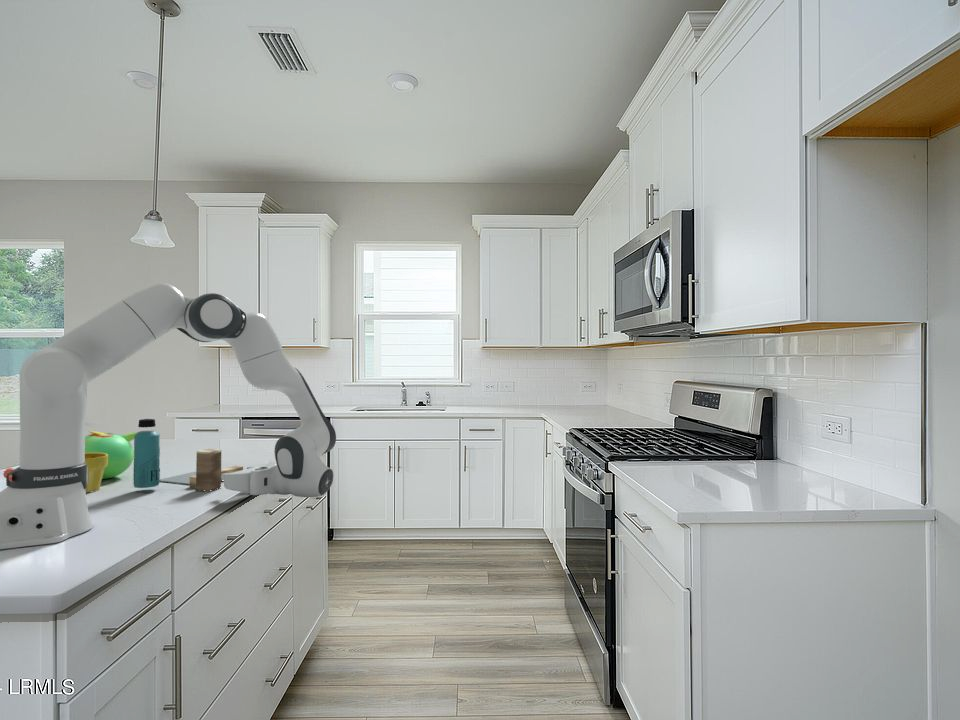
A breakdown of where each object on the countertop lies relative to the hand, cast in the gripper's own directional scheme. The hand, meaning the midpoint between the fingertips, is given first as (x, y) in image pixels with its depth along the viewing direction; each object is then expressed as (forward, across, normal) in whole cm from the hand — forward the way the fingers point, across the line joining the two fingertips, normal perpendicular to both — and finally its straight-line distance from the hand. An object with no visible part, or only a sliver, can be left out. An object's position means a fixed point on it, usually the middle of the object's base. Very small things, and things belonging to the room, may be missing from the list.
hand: (236, 472), depth 157 cm
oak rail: (+15, -9, +5) cm, 18 cm away
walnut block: (+10, 0, +5) cm, 11 cm away
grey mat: (+24, -9, +5) cm, 26 cm away
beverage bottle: (+24, +8, +6) cm, 26 cm away
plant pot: (+39, +14, +6) cm, 42 cm away
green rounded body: (+50, +1, +6) cm, 50 cm away
